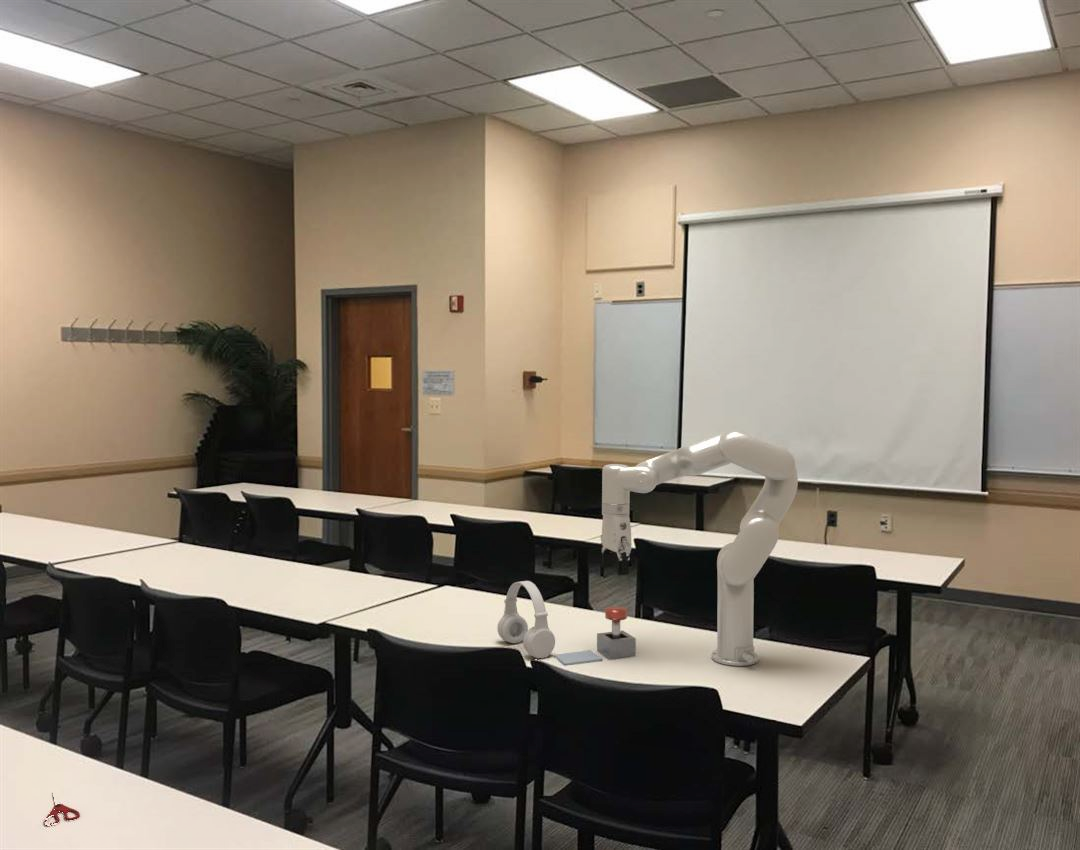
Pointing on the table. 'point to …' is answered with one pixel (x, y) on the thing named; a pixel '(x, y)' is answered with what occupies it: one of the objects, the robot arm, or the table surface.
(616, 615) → the red capped metal cylinder
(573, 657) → the pad
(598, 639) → the eye block
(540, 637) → the headphones
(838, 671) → the table surface
